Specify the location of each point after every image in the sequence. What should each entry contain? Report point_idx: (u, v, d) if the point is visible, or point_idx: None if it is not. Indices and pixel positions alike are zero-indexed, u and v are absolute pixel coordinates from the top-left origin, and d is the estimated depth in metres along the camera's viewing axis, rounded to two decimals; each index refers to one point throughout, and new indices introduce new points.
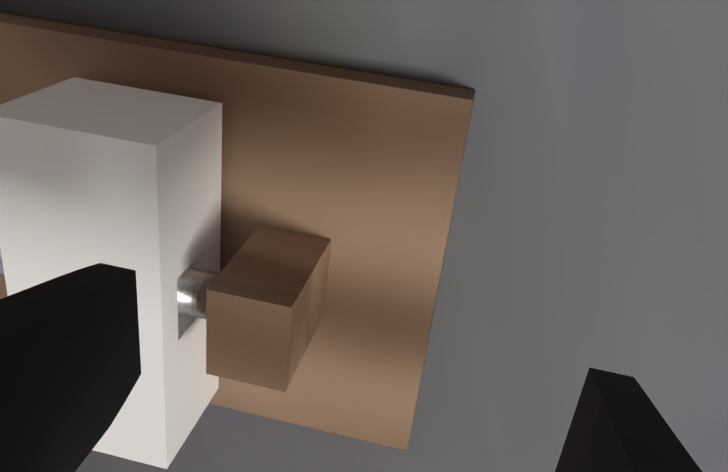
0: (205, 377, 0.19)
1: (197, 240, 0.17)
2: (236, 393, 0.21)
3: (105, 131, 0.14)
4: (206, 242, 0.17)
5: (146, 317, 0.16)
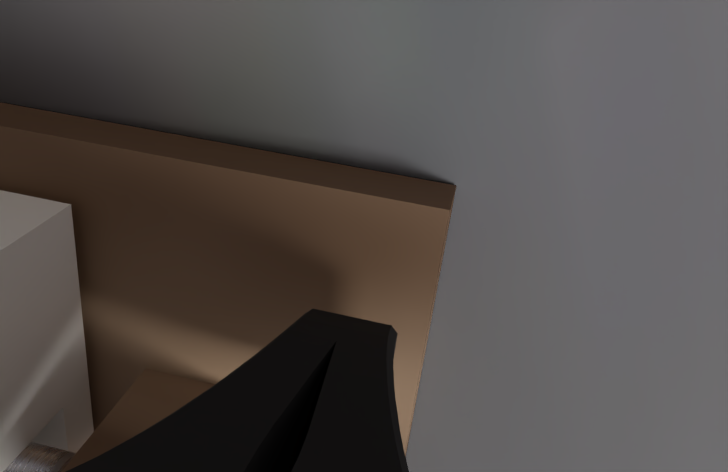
0: None
1: (35, 411, 0.11)
2: None
3: None
4: (57, 405, 0.12)
5: None
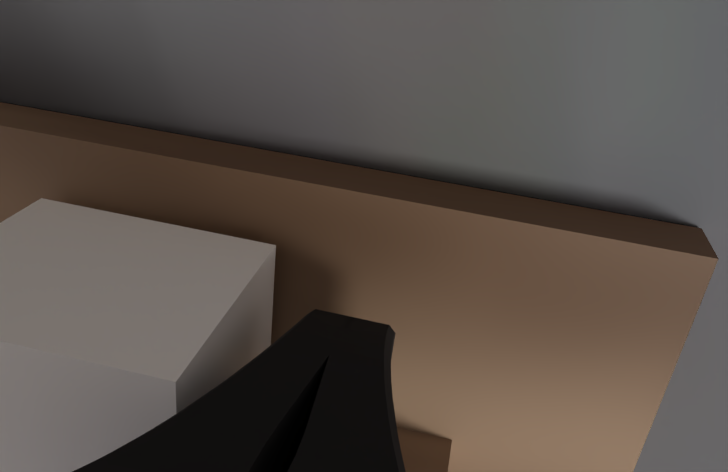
0: None
1: None
2: None
3: (85, 343, 0.08)
4: None
5: None
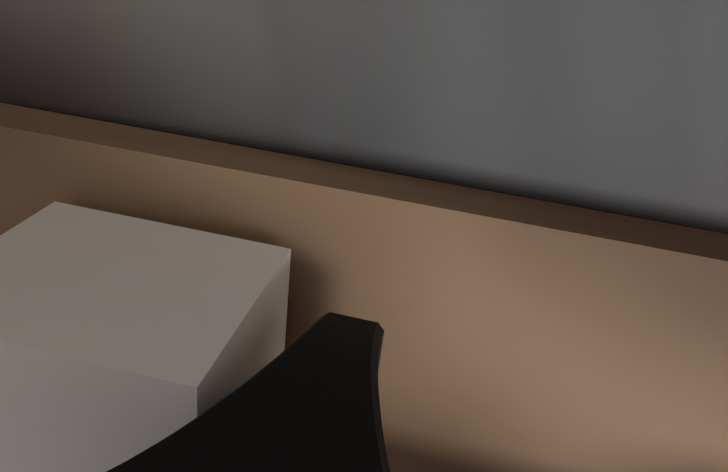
0: None
1: None
2: None
3: (104, 349, 0.08)
4: None
5: None
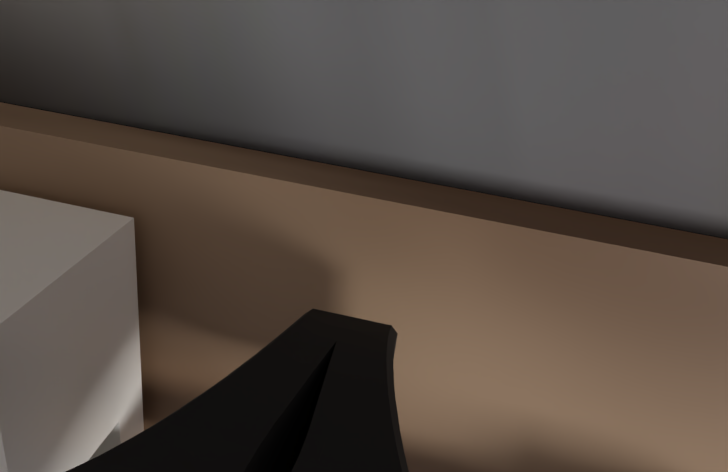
0: None
1: (95, 426, 0.11)
2: None
3: None
4: (115, 419, 0.12)
5: None
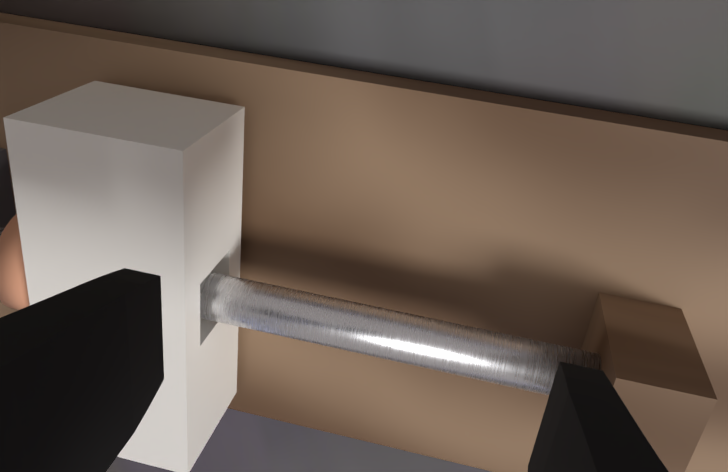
0: (224, 382, 0.19)
1: (219, 245, 0.17)
2: (525, 462, 0.20)
3: (131, 136, 0.14)
4: (227, 246, 0.17)
5: (169, 323, 0.15)
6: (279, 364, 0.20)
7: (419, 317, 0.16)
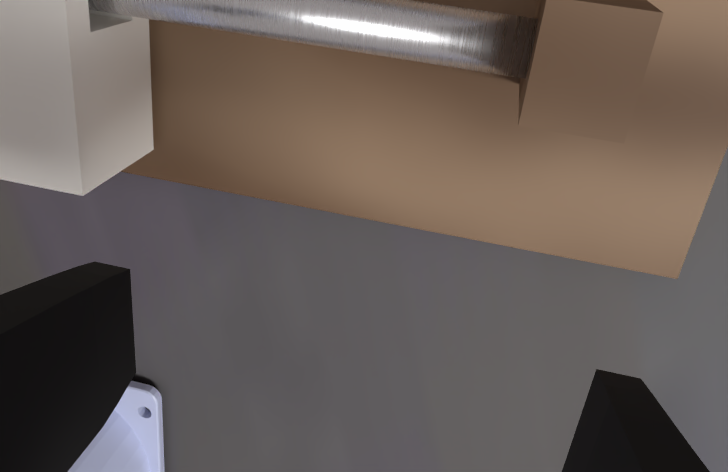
0: (133, 119, 0.17)
1: None
2: (469, 215, 0.18)
3: None
4: None
5: None
6: (199, 113, 0.18)
7: None
